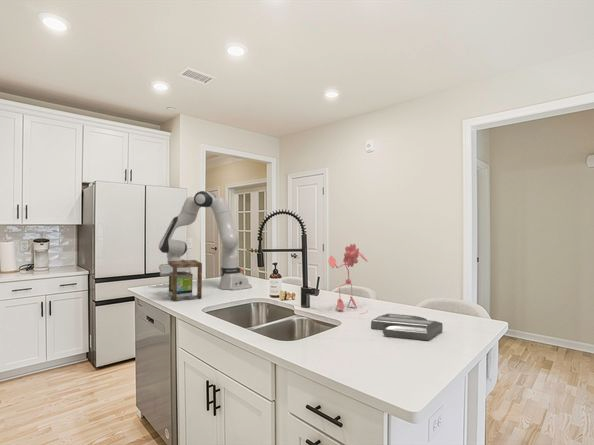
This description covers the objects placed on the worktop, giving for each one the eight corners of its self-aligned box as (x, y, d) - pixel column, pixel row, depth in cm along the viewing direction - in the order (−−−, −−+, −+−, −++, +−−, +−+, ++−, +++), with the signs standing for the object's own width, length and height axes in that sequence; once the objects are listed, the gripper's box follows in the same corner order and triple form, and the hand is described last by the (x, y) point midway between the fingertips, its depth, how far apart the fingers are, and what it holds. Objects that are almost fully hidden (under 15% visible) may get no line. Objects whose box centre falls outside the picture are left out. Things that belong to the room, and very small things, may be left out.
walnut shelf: (194, 292, 213) (194, 259, 213) (201, 298, 196) (201, 263, 196) (168, 294, 205) (168, 261, 206) (172, 301, 188) (173, 264, 188)
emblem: (415, 308, 159) (457, 325, 132) (415, 319, 159) (457, 339, 132) (361, 312, 152) (394, 331, 125) (361, 323, 152) (394, 345, 125)
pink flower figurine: (323, 311, 170) (325, 243, 170) (356, 304, 187) (358, 242, 186) (345, 318, 159) (347, 245, 158) (378, 310, 175) (380, 244, 175)
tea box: (192, 298, 197) (193, 273, 197) (175, 300, 191) (175, 275, 191) (184, 294, 209) (184, 270, 209) (168, 296, 203) (168, 271, 203)
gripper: (159, 261, 226) (160, 278, 217) (190, 260, 236) (192, 276, 227) (158, 267, 230) (159, 283, 221) (188, 266, 240) (191, 281, 231)
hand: (176, 280), depth 224 cm, fingers closed
